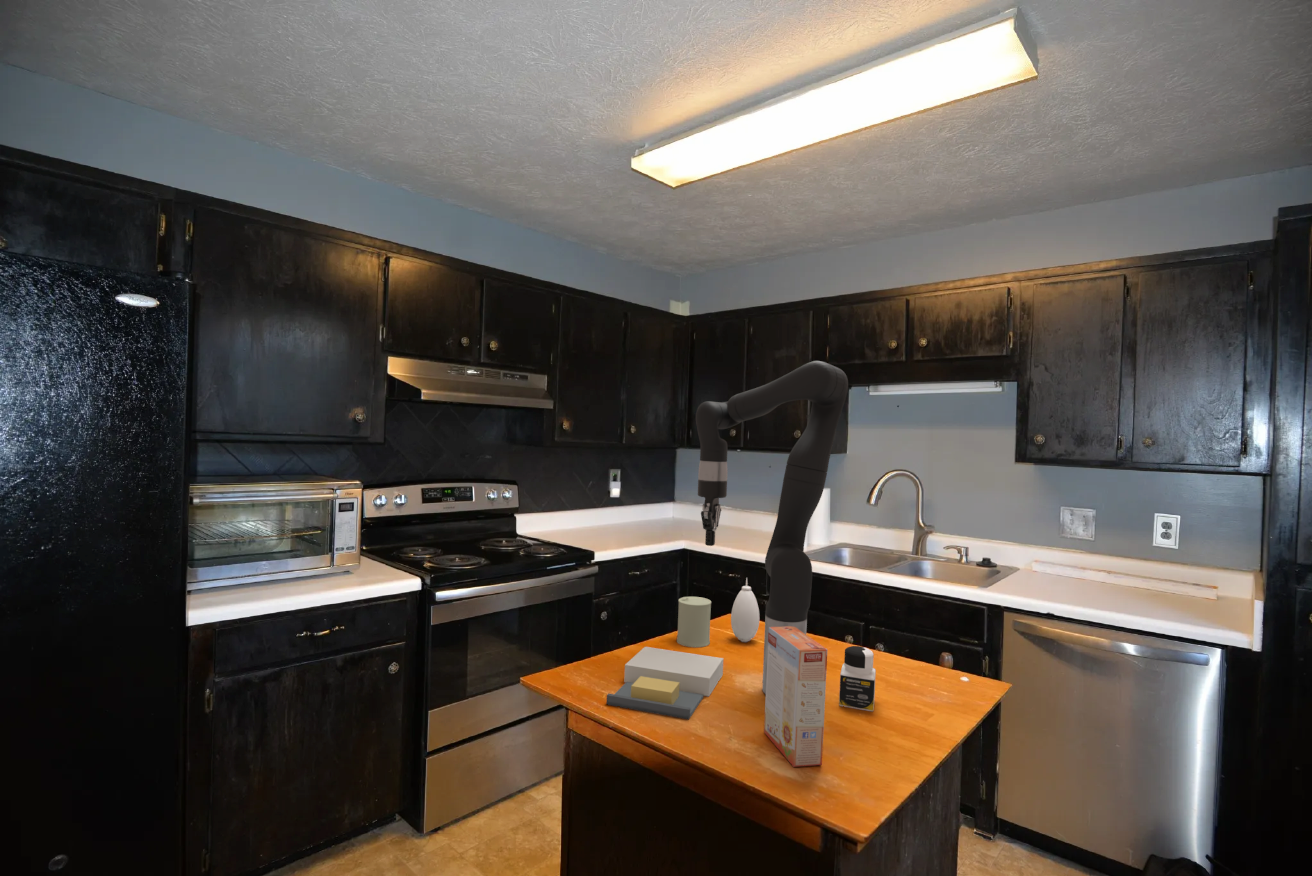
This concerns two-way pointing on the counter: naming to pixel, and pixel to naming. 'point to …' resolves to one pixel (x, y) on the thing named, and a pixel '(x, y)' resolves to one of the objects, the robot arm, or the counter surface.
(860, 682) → the medicine bottle
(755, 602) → the white bulb air blower
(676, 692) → the yellow block
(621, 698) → the tray
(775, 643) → the cracker box
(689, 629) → the can
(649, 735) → the counter surface
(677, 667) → the white flat block
